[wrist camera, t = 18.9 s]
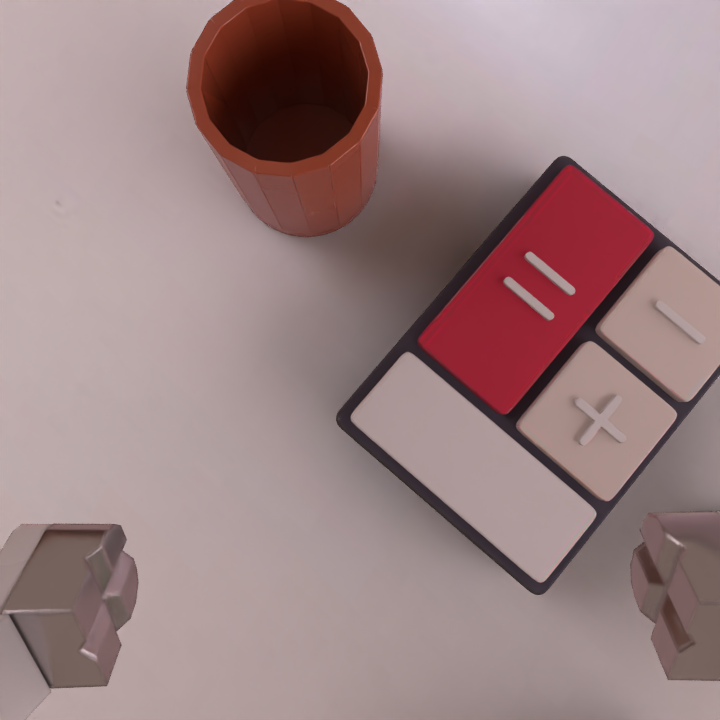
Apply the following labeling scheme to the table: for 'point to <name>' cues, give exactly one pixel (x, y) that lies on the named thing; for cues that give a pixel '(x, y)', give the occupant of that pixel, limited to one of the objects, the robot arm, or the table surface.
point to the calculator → (544, 374)
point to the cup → (291, 109)
